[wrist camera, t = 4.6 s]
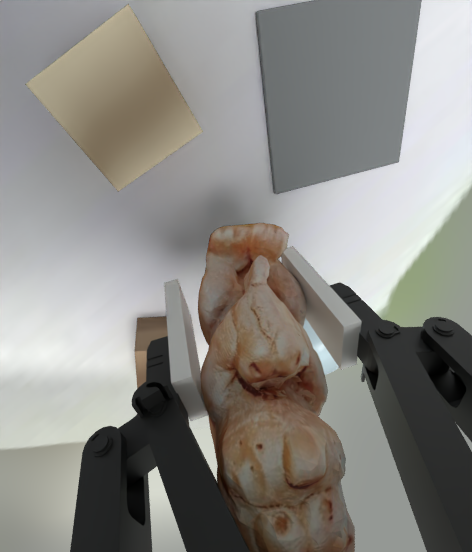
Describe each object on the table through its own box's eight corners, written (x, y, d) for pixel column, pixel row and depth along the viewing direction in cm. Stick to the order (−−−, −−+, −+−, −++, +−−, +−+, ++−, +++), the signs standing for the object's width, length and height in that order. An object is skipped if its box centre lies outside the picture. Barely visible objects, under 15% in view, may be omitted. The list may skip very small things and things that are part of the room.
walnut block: (137, 317, 24) (134, 351, 21) (185, 314, 25) (190, 347, 22) (140, 366, 27) (138, 403, 24) (183, 362, 28) (187, 397, 25)
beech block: (60, 88, 15) (25, 84, 11) (135, 30, 15) (128, 3, 11) (126, 170, 18) (118, 191, 14) (191, 124, 17) (203, 131, 13)
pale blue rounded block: (268, 297, 26) (295, 343, 21) (318, 282, 27) (356, 323, 22) (274, 334, 29) (298, 383, 24) (319, 320, 29) (352, 365, 24)
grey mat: (255, 12, 15) (257, 11, 15) (419, -18, 16) (424, -21, 16) (274, 192, 21) (275, 194, 21) (395, 161, 22) (398, 162, 22)
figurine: (270, 200, 17) (544, 448, 5) (262, 298, 22) (406, 562, 9) (168, 207, 16) (224, 558, 4) (181, 310, 20) (227, 635, 8)
